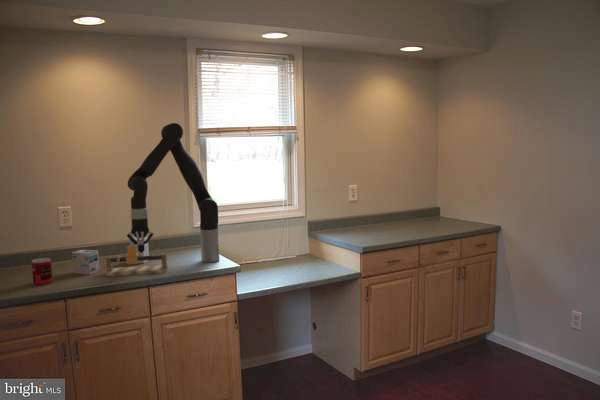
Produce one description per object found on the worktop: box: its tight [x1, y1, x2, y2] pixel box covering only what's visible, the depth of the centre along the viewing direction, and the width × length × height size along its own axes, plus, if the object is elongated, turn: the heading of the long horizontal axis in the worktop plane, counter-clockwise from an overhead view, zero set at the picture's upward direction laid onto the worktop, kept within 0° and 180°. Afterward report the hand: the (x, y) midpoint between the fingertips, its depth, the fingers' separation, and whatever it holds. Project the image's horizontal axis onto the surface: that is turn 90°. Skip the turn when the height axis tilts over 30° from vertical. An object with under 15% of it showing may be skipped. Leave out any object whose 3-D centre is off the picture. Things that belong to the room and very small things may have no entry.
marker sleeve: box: [125, 245, 139, 265], centre depth 240 cm, size 5×4×9 cm
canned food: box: [31, 257, 54, 286], centre depth 224 cm, size 8×8×11 cm
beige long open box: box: [105, 253, 169, 277], centre depth 241 cm, size 28×10×8 cm, turn 99°
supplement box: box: [128, 236, 150, 264], centre depth 260 cm, size 7×7×13 cm
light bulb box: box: [71, 249, 101, 276], centre depth 241 cm, size 11×7×11 cm, turn 71°
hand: (141, 252), depth 241 cm, fingers closed
